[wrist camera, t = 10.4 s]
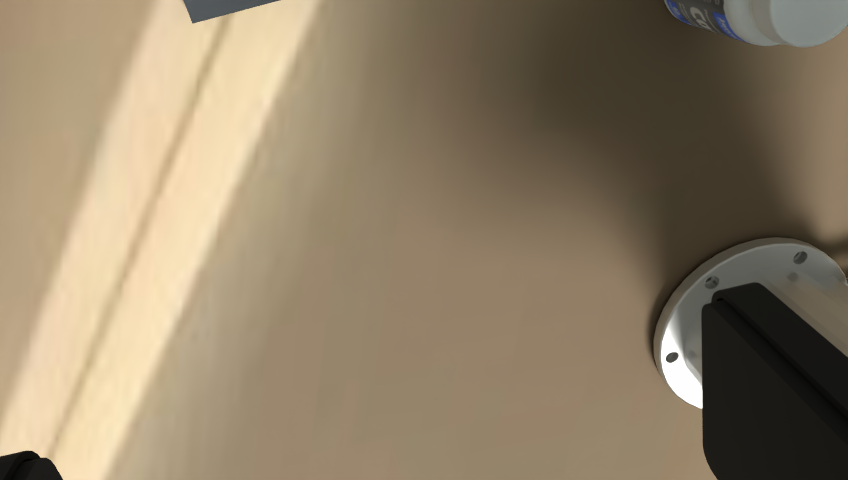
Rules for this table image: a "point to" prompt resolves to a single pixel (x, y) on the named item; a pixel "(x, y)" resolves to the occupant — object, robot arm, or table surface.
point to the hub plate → (218, 7)
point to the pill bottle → (766, 19)
